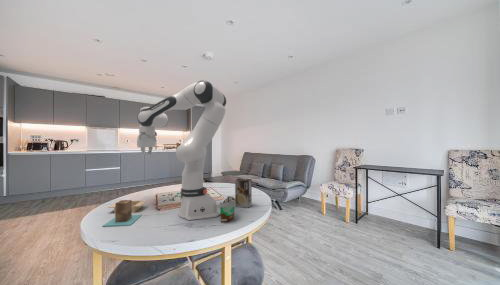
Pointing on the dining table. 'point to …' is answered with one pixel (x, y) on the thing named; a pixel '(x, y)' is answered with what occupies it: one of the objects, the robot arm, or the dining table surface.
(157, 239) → the dining table surface
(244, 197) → the coffee box
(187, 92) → the robot arm
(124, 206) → the block
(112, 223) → the board
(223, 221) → the food container
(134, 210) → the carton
